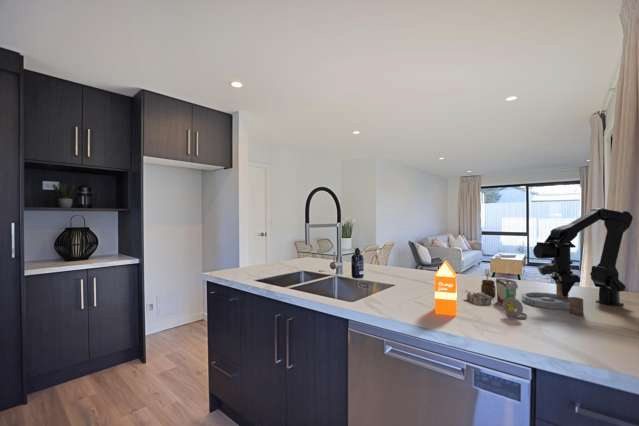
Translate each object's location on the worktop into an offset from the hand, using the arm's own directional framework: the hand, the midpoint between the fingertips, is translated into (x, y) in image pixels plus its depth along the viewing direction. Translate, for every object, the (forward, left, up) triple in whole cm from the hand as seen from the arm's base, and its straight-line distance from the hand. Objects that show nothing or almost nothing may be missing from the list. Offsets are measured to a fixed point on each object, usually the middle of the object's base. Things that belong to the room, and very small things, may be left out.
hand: (562, 295), depth 131 cm
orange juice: (+54, -1, -4) cm, 54 cm away
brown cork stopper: (0, 0, -1) cm, 1 cm away
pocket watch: (+33, +10, -4) cm, 34 cm away
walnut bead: (+8, +12, -4) cm, 15 cm away
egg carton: (+31, -11, -4) cm, 33 cm away
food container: (+23, -4, -4) cm, 23 cm away
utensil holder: (+21, -19, -4) cm, 28 cm away
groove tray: (+5, -3, -4) cm, 7 cm away
